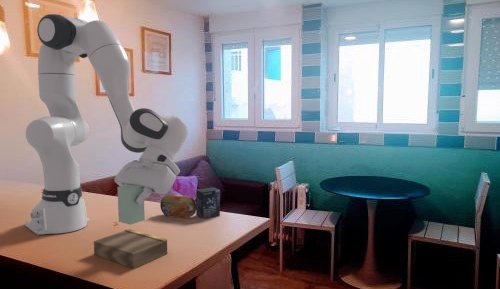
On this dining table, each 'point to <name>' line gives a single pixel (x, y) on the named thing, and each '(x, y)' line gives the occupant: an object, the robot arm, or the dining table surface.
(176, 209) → the tin
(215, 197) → the box
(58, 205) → the robot arm
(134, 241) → the block
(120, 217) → the block
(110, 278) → the dining table surface
